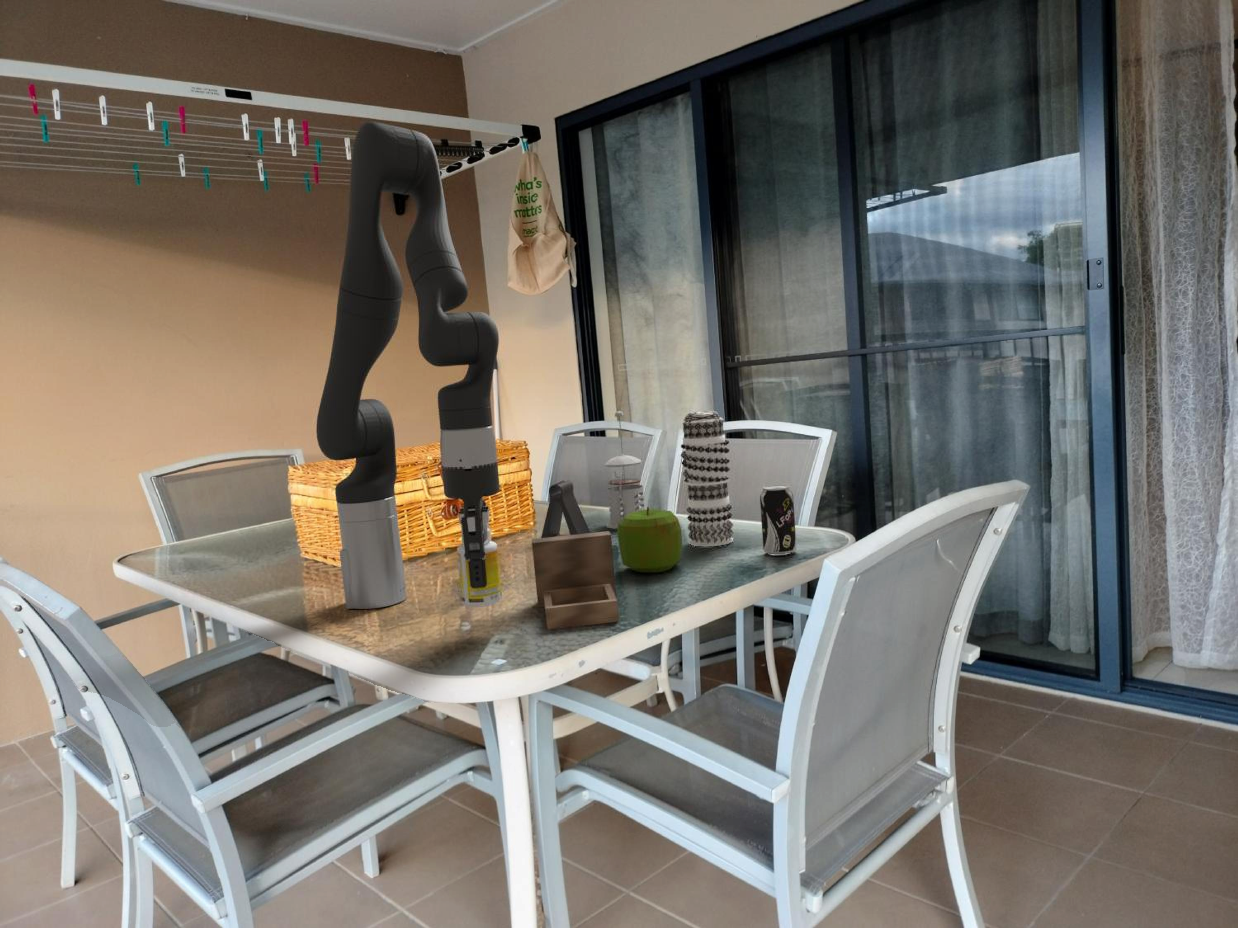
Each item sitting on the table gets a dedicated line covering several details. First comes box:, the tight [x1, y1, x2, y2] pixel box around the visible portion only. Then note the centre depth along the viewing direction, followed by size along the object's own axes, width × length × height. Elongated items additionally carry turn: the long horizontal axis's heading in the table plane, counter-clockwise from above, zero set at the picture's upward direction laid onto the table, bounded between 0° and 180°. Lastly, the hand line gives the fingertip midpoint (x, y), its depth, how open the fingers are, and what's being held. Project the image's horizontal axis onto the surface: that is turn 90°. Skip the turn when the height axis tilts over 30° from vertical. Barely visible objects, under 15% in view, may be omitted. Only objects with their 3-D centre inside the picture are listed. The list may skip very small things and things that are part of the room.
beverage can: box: [759, 484, 797, 555], centre depth 158 cm, size 6×6×12 cm
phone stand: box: [540, 480, 591, 538], centre depth 187 cm, size 9×6×12 cm, turn 70°
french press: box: [604, 410, 646, 530], centre depth 196 cm, size 10×12×25 cm
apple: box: [616, 506, 683, 574], centre depth 154 cm, size 11×11×11 cm
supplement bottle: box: [456, 527, 503, 608], centre depth 124 cm, size 6×6×10 cm
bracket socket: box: [531, 530, 620, 631], centre depth 132 cm, size 12×15×10 cm
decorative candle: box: [680, 410, 734, 547], centre depth 171 cm, size 9×9×25 cm
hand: (480, 580), depth 125 cm, fingers closed on supplement bottle, 5 cm apart
